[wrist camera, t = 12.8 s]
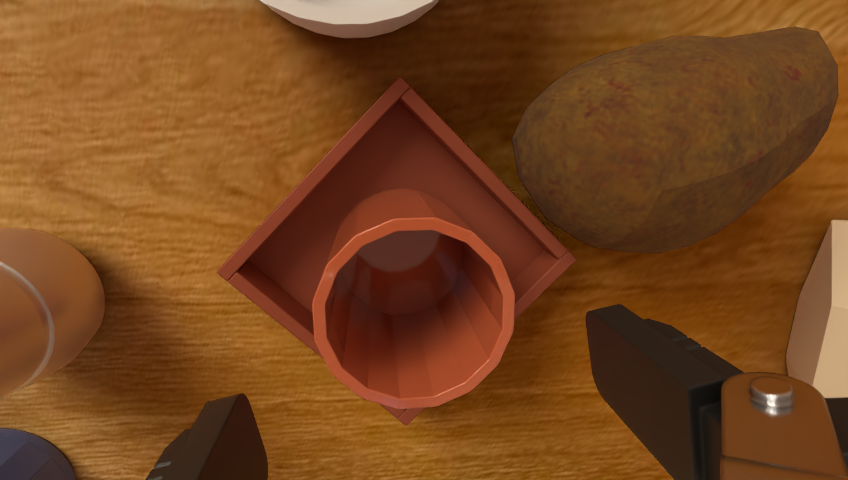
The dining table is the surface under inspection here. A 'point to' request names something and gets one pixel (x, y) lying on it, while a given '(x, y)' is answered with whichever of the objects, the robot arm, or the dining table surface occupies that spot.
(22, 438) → the blue cup
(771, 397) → the robot arm
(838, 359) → the campfire
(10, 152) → the dining table surface
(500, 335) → the terracotta cup
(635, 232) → the potato
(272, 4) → the saucepan
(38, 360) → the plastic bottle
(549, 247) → the rust tray
